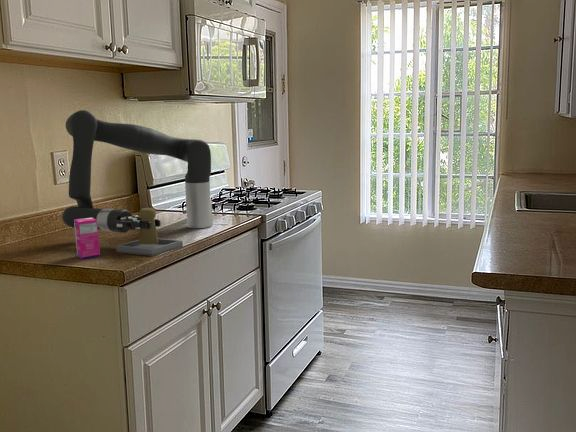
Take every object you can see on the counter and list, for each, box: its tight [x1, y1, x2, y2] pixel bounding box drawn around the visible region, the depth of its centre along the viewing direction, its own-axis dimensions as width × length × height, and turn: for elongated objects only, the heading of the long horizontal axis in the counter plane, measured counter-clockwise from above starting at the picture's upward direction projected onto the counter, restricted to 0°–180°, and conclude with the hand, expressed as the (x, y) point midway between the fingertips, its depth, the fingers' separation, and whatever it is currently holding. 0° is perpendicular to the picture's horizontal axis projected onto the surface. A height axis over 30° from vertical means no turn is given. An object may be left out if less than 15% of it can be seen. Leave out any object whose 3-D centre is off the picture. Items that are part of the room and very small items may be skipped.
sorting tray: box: [115, 237, 184, 257], centre depth 189 cm, size 15×15×2 cm
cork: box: [138, 207, 159, 244], centre depth 188 cm, size 6×6×11 cm
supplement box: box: [74, 218, 101, 260], centre depth 181 cm, size 6×6×12 cm
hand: (155, 224), depth 187 cm, fingers closed on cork, 4 cm apart
